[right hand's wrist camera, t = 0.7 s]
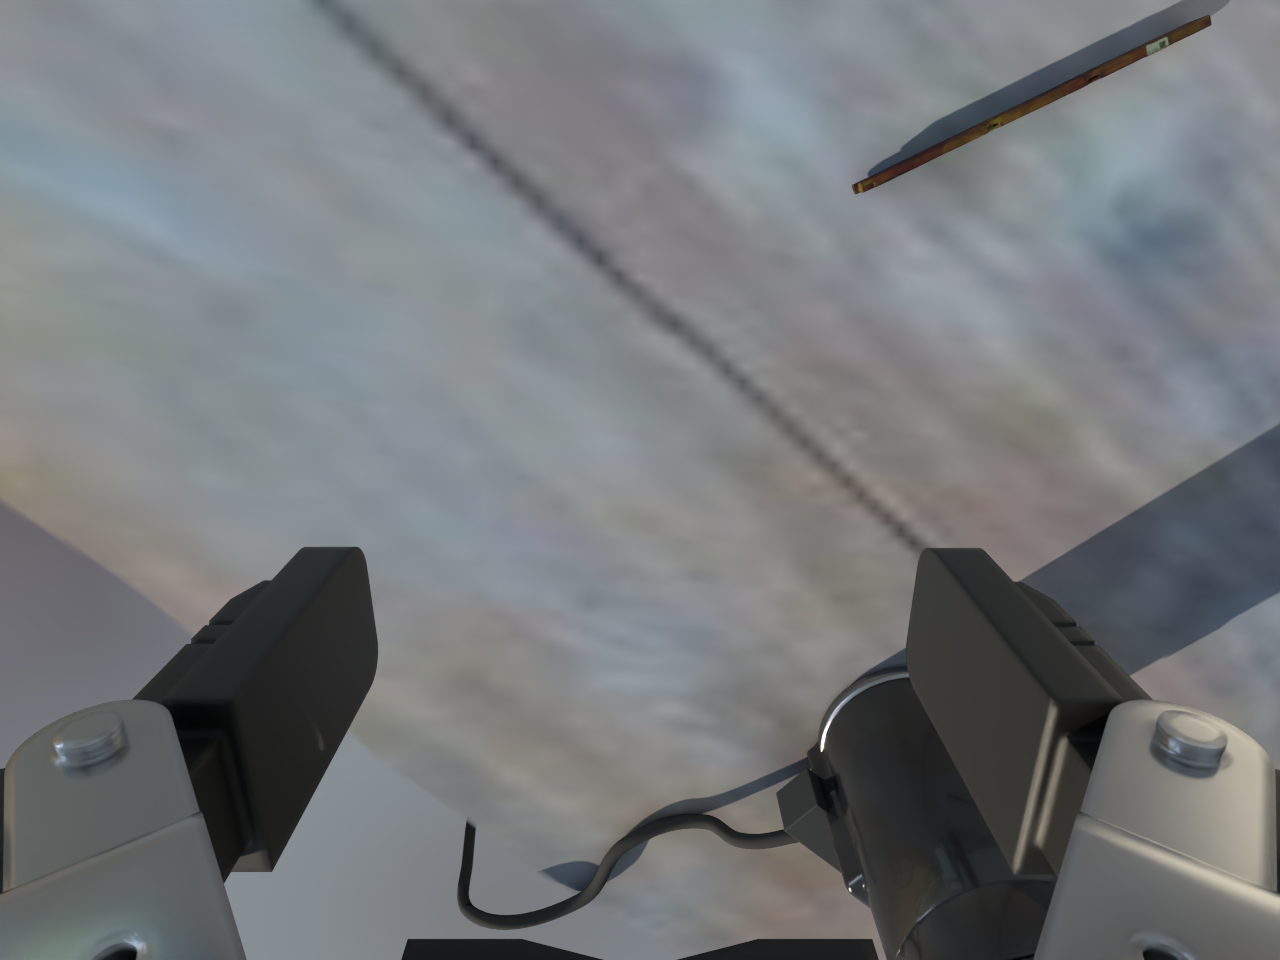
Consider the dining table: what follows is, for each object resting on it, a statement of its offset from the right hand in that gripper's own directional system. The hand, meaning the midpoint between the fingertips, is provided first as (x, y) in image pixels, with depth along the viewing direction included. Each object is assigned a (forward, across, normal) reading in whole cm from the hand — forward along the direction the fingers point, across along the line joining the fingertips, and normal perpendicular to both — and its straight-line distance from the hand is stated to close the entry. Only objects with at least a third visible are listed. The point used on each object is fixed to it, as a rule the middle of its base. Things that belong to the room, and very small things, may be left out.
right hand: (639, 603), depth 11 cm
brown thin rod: (+27, -16, -9) cm, 33 cm away
